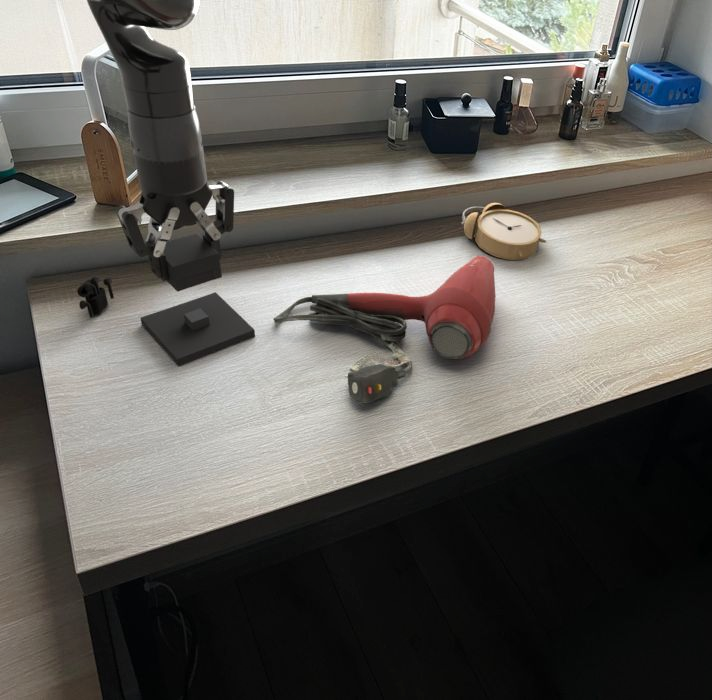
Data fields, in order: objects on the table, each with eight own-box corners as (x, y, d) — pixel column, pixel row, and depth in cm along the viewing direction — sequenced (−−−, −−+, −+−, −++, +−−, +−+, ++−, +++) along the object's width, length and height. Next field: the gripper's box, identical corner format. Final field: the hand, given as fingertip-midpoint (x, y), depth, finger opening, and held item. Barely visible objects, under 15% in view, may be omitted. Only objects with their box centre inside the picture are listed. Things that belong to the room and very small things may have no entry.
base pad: (178, 366, 93) (175, 350, 91) (141, 324, 99) (138, 309, 97) (255, 336, 99) (253, 321, 97) (216, 298, 105) (214, 283, 103)
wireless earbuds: (89, 326, 97) (81, 295, 94) (72, 322, 98) (63, 291, 94) (119, 298, 103) (111, 268, 100) (102, 295, 103) (94, 264, 100)
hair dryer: (448, 258, 120) (453, 209, 115) (550, 338, 105) (561, 286, 100) (262, 316, 103) (257, 262, 97) (354, 421, 88) (354, 365, 83)
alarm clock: (518, 253, 118) (450, 206, 123) (509, 276, 121) (444, 229, 126) (555, 231, 125) (490, 187, 130) (546, 253, 128) (483, 209, 133)
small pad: (177, 291, 90) (172, 267, 88) (156, 270, 93) (151, 245, 91) (222, 277, 93) (218, 253, 91) (200, 256, 96) (196, 233, 94)
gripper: (117, 171, 76) (145, 302, 87) (241, 144, 85) (254, 266, 95) (90, 146, 80) (120, 273, 91) (211, 122, 89) (226, 242, 99)
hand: (188, 269), depth 93 cm, fingers closed on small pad, 6 cm apart
